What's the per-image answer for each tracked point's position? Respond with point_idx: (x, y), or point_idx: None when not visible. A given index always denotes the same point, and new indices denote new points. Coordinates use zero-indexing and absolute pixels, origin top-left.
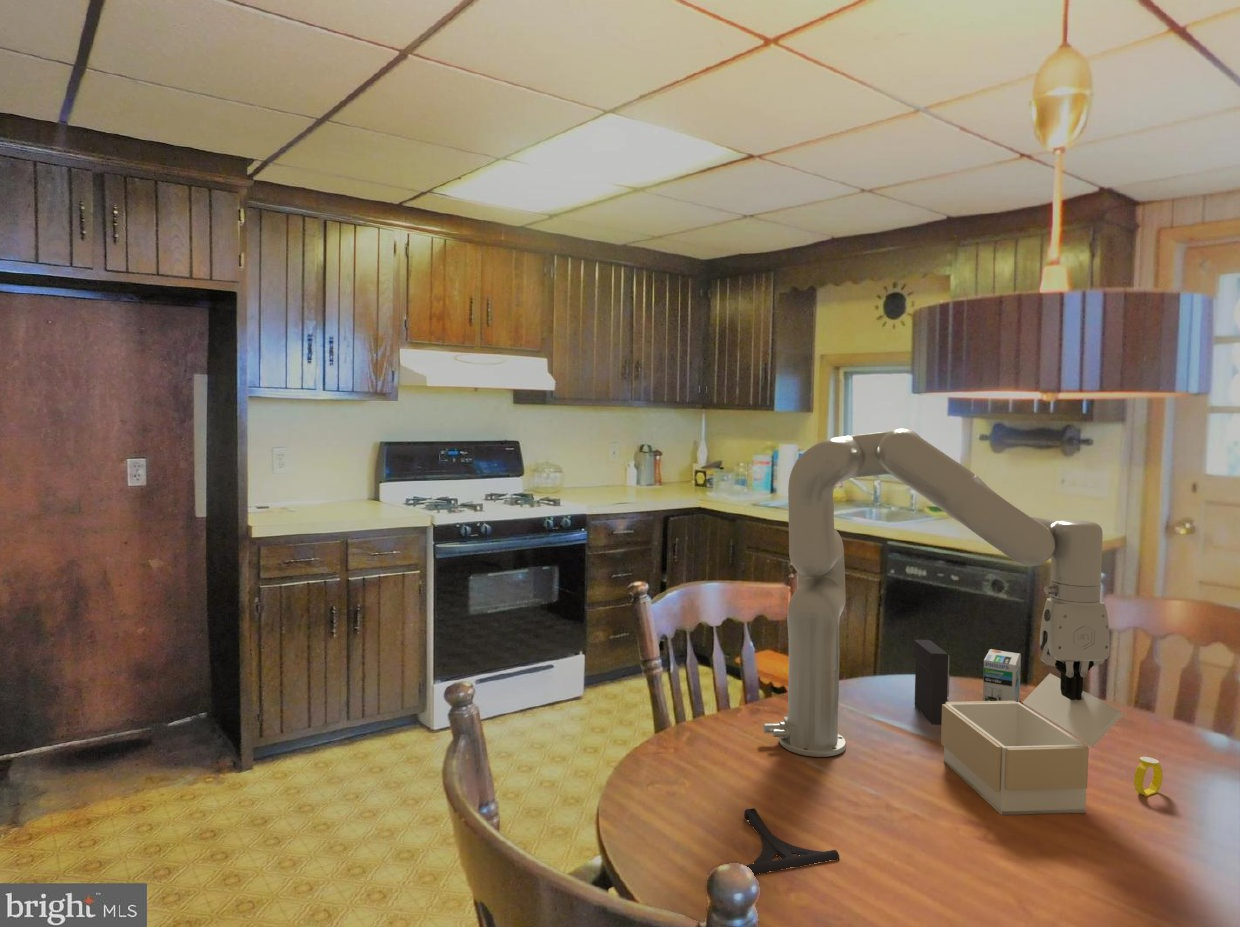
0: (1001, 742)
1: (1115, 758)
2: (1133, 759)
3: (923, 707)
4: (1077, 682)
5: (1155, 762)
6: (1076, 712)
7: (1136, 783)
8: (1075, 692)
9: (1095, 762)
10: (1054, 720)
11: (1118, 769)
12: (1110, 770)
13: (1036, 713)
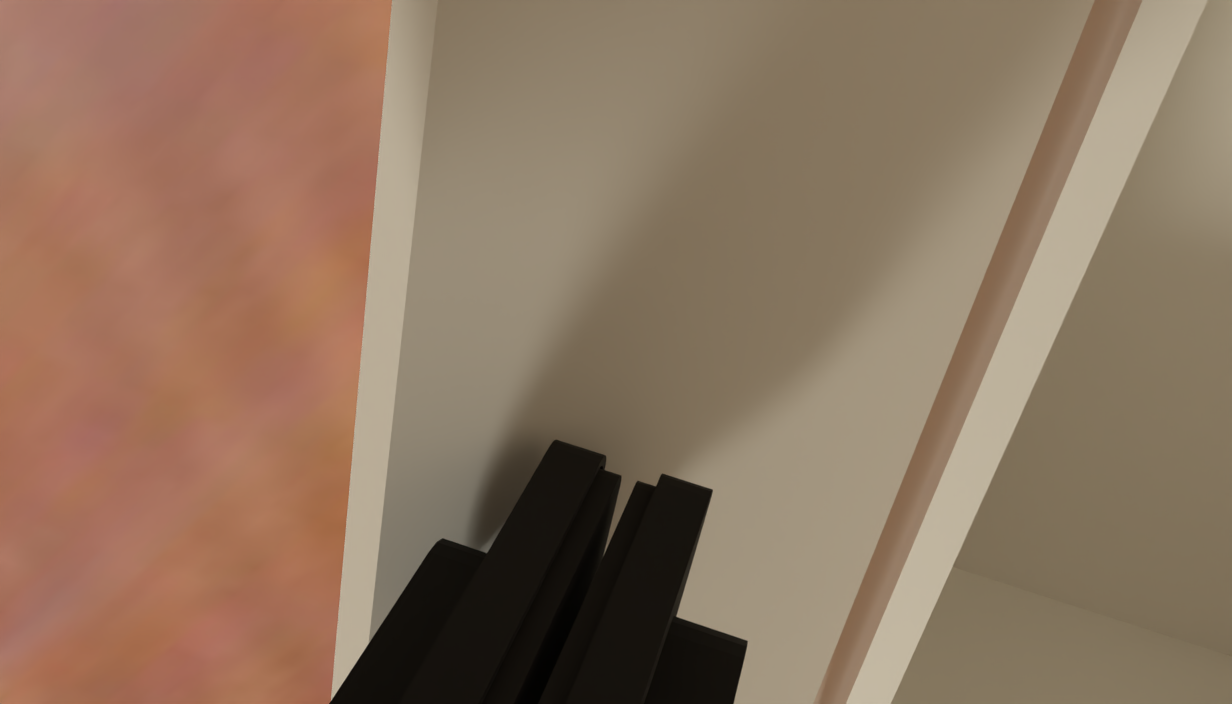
0: (965, 657)
1: (161, 311)
2: (61, 260)
3: None
4: (520, 690)
5: None
6: (758, 306)
7: None
8: (634, 551)
9: (326, 316)
10: (898, 450)
11: (252, 186)
12: (315, 193)
13: (856, 678)
